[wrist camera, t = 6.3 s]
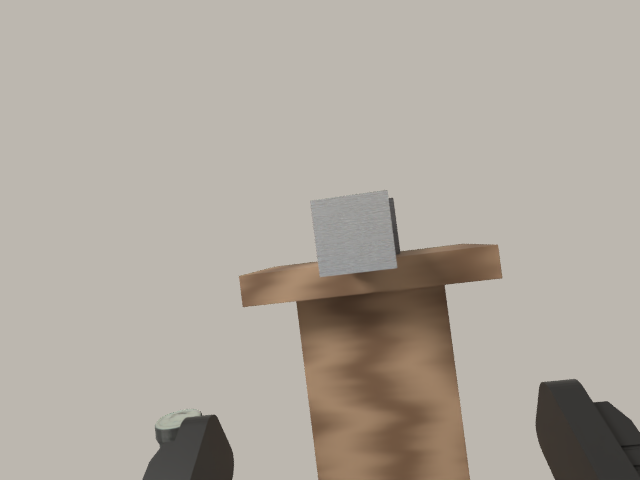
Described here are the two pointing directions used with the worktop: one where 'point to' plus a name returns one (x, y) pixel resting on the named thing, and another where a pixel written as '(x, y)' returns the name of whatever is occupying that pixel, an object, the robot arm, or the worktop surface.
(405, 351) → the stand
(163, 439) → the sauce bottle
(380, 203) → the grey metal bar
